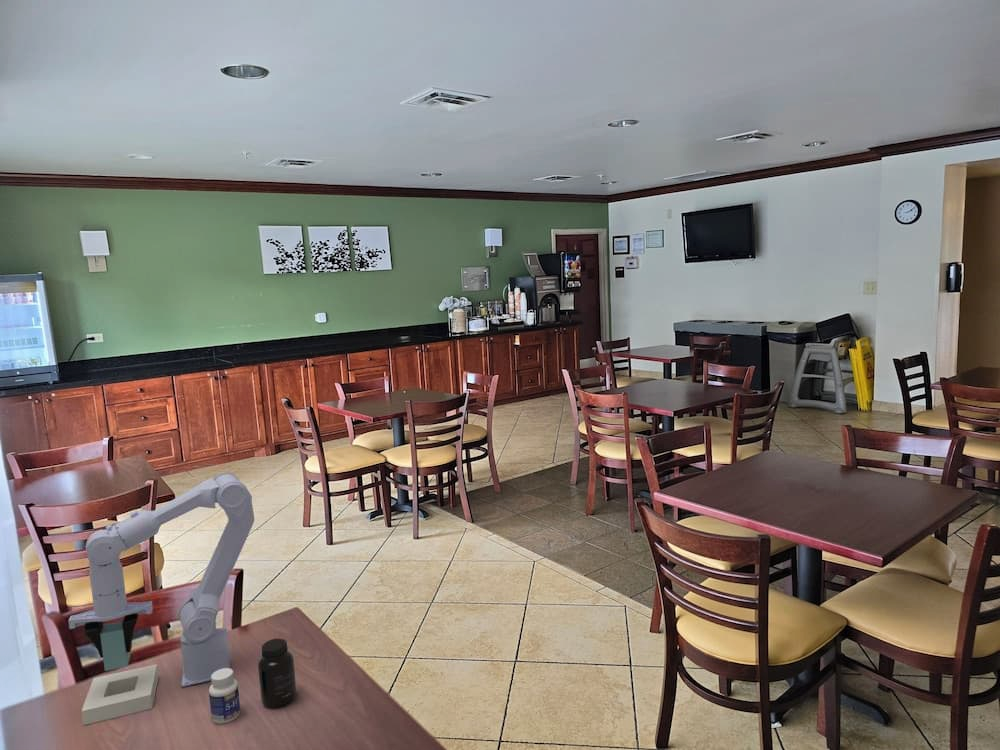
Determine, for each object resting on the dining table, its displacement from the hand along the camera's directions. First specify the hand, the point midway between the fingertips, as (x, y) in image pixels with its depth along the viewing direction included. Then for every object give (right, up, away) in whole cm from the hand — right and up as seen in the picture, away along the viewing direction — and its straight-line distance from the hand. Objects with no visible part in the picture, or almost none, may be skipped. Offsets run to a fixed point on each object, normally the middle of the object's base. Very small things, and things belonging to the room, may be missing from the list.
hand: (116, 652), depth 134 cm
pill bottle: (+25, -10, -5) cm, 27 cm away
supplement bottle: (+34, -9, -1) cm, 35 cm away
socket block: (+1, -10, +1) cm, 10 cm away
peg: (0, -2, 0) cm, 3 cm away
